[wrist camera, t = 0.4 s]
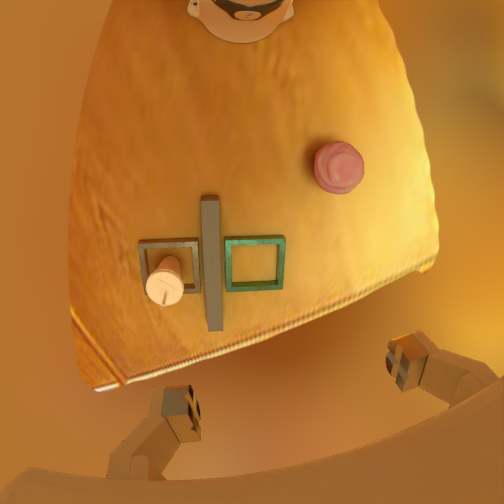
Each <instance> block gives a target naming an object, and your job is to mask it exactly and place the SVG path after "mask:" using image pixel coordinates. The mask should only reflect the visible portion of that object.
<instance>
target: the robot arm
mask: <svg viewBox="0 0 504 504" xmlns="http://www.w3.org/2000/svg"><path fill="white" fill-rule="evenodd" d="M292 2H293V0H190V2H189V5H188V8H187V13H188V14H189V15H190V16H192V17H194V18H196V19H198V20H200V21H201V22H202V23H203V25H204V26H205V27H206V28H207V29H208V30H209V31H210V32H211V33H212V34H213V35H215V36H216V37H218V38H220V39H223V40H225V41H229V42H234V43H250V42H255V41H258V40H261V39H263V38H265V37H267V36H268V35H270V34H271V33H272V32H273V31H274V30H275V29H276V28H277V26H278V25H279V24H281V23H282V22H285V21H287V20H289V19H291V18H292V17H293V15H294V9H293V5H292ZM195 3H197V5H196V6H195V5H193V4H195ZM388 349H389V350H390V351H389V352H388V354H387V356H386V361H385V362H386V367H387V370H388V372H389V374H390V375H391V376H393V377H395V378H396V384H397V386H398V387H399V388H400V390H401V391H402V392H405V391H408V390H410V389H413V388H416V387H418V386H419V388H421V389H423V390H425V391H427V392H429V393H431V394H432V395H434V396H436V397H438V398H440V399H442V400H444V401H445V402H448V403H449V404H450V406H449V408H448V409H447V410H445V411H443V412H441V413H440V414H437V415H435V416H433V417H431V418H429V419H427V420H425V421H423V422H421V423H419V424H417V425H414V426H412V427H410V428H407V429H405V430H403V431H400V432H398V433H396V434H393V435H391V436H388V437H386V438H383V439H381V440H378V441H375V442H372V443H370V444H367V445H364V446H361V447H359V448H355V449H352V450H349V451H346V452H343V453H339V454H336V455H332V456H329V457H326V458H322V459H319V460H314V461H310V462H306V463H302V464H298V465H294V466H289V467H284V468H279V469H274V470H269V471H263V472H257V473H251V474H244V475H237V476H228V477H220V478H208V479H196V480H172V481H171V480H170V481H167V480H166V479H165V477H164V476H163V475H162V474H161V473H162V472H163V470H164V469H165V467H166V466H167V464H168V463H169V461H170V460H171V458H172V457H173V455H174V454H175V452H176V451H177V449H178V448H179V446H180V443H188V442H197V441H201V428H200V425H199V423H198V422H199V421H200V419H201V418H200V408H199V404H198V401H197V398H196V397H194V396H193V388H192V386H191V385H178V386H167V387H156V388H155V387H154V388H153V390H152V395H151V401H150V407H149V414H148V418H144V419H143V421H141V423H140V424H139V425H138V426H137V427H136V428H135V429H134V430H133V431H132V432H131V433H130V434H129V435H128V436H127V437H126V438H125V439H124V440H123V442H121V444H120V445H119V446H118V447H117V448H116V449H115V450H114V451H113V452H112V453H111V454H110V458H109V464H108V469H107V474H106V478H98V477H97V478H96V477H89V476H81V475H74V474H68V473H62V472H56V471H51V470H46V469H41V468H37V467H29V468H27V469H25V470H24V471H22V472H21V473H20V474H18V475H17V476H15V477H14V478H13V479H12V480H10V481H9V482H8V483H7V484H6V485H5V486H4V488H3V490H2V491H1V493H0V504H504V376H503V377H501V378H498V377H497V376H496V374H495V373H494V372H493V371H492V370H491V369H490V368H489V367H488V366H487V365H486V364H485V363H483V362H480V361H476V360H473V359H470V358H467V357H464V356H461V355H458V354H455V353H452V352H449V351H446V350H439V349H438V348H437V347H436V345H435V344H434V343H433V342H432V341H431V340H430V339H429V338H428V337H427V336H426V335H425V334H424V333H423V332H422V331H421V330H417V331H415V332H412V333H409V334H407V335H404V336H401V337H398V338H395V339H392V340H390V341H389V343H388Z"/></svg>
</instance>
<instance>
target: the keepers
mask: <svg viewBox="0 0 504 504" xmlns="http://www.w3.org/2000/svg"><path fill="white" fill-rule="evenodd" d="M264 244H278V251H277V271H276V280H274V281H254V282H232V278H231V246H234V245H264ZM285 244H286V238H285V237H284V235H271V236H236V237H225V267H226V292H241V291H261V290H279V289H283V278H284V262H285ZM177 247H192V253H193V268H194V282H195V284H184V291H183V294H191V293H201V284H200V269H199V252H198V238H179V239H154V240H140V241H139V243H138V250H139V258H140V265H141V272H142V279H143V285H144V292H145V295H148V294H147V291H146V283H147V279H148V277H149V268H148V260H147V252H146V249H151V248H177Z"/></svg>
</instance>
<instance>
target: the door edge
mask: <svg viewBox="0 0 504 504" xmlns="http://www.w3.org/2000/svg"><path fill="white" fill-rule="evenodd" d="M201 216H202V241H203V261H204V279H205V295H206V310H207V323H208V332H209V331H223V315H222V290H221V259H220V217H219V196H202V198H201Z"/></svg>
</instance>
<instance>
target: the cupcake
mask: <svg viewBox="0 0 504 504" xmlns="http://www.w3.org/2000/svg"><path fill="white" fill-rule="evenodd" d="M314 174H315V177H316V181H317V183H318V184H319V186H320V187H321V188H322V189H323V190H325V191H327V192H329V193H333V194H346V193H349V192H350V191H352V190H353V189H354V188H355V187H356V186H357V185H358V184H359V183H360V182H361V180H362V178H363V175H364V161H363V158H362V156H361V155H360V153H359V152H358V151H357V150H356V149H355V148H354V147H353V146H352V145H350V144H348V143H346V142H341V141H338V142H332V143H328V144H326V145H324V146H323V147H322V148H320V150H319V151H317V152H316V153H315V155H314Z"/></svg>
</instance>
